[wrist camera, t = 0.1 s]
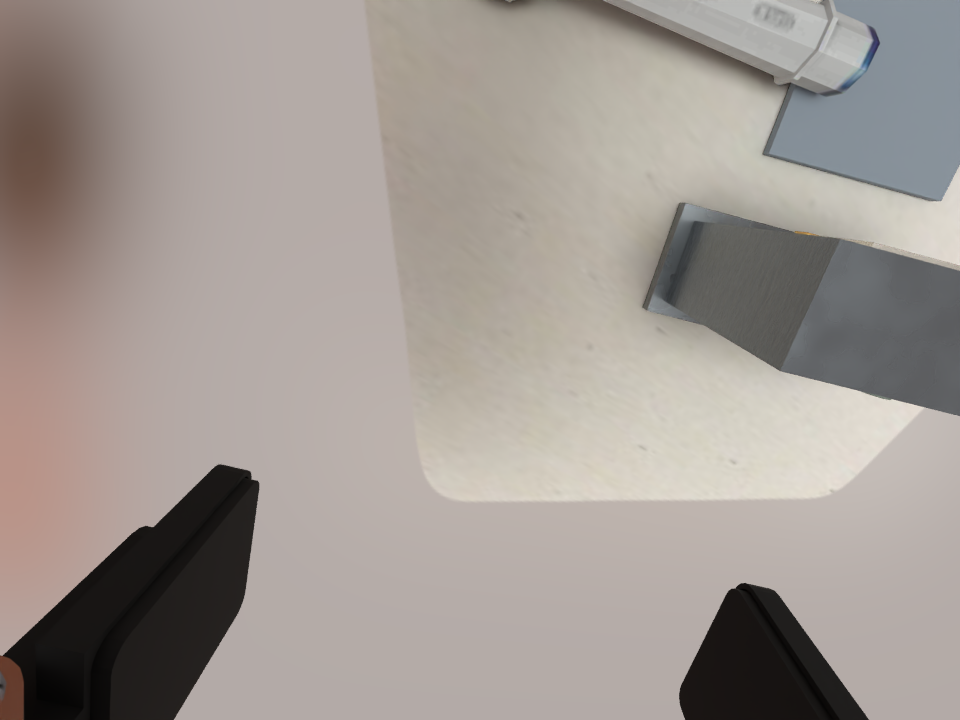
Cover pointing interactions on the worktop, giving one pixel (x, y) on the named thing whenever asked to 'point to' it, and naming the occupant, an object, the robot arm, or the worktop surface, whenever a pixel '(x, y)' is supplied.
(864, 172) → the slate mat
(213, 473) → the robot arm
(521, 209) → the worktop surface
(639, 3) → the white elongated piece
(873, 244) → the mounted unit
